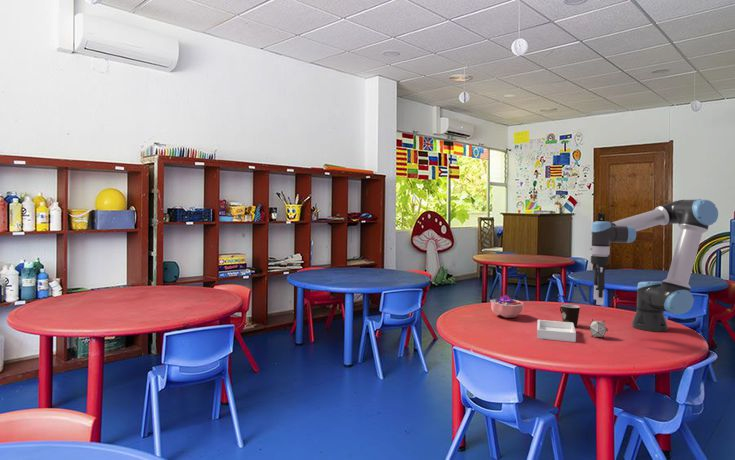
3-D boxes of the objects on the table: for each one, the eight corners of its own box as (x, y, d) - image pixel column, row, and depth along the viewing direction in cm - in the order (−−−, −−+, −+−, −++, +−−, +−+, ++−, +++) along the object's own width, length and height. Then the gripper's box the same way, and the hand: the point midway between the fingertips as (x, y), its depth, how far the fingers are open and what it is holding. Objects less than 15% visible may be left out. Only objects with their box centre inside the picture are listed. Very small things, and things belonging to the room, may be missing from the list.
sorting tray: (572, 330, 234) (573, 322, 233) (575, 342, 214) (575, 333, 214) (537, 327, 239) (537, 319, 239) (537, 338, 219) (537, 329, 219)
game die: (600, 344, 223) (613, 327, 223) (600, 342, 216) (614, 324, 216) (582, 332, 228) (595, 315, 228) (582, 330, 220) (595, 312, 221)
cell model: (492, 320, 254) (493, 299, 253) (488, 312, 274) (488, 292, 273) (526, 321, 252) (526, 300, 251) (519, 313, 272) (519, 293, 271)
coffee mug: (581, 328, 238) (581, 308, 238) (562, 327, 240) (563, 307, 239) (576, 323, 249) (576, 303, 249) (558, 322, 251) (558, 302, 251)
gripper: (588, 252, 233) (586, 296, 234) (593, 257, 210) (591, 306, 211) (605, 253, 231) (604, 298, 232) (613, 258, 207) (611, 307, 208)
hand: (598, 302), depth 221 cm, fingers open, 13 cm apart
